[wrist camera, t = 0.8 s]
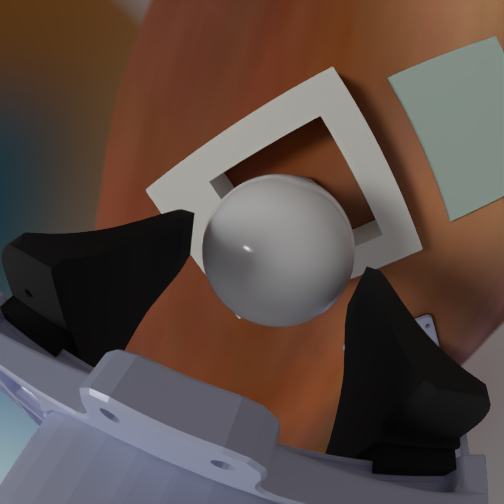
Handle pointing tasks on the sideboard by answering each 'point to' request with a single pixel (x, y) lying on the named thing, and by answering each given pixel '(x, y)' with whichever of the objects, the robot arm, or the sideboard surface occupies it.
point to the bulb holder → (271, 129)
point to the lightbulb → (278, 250)
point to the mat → (459, 122)
